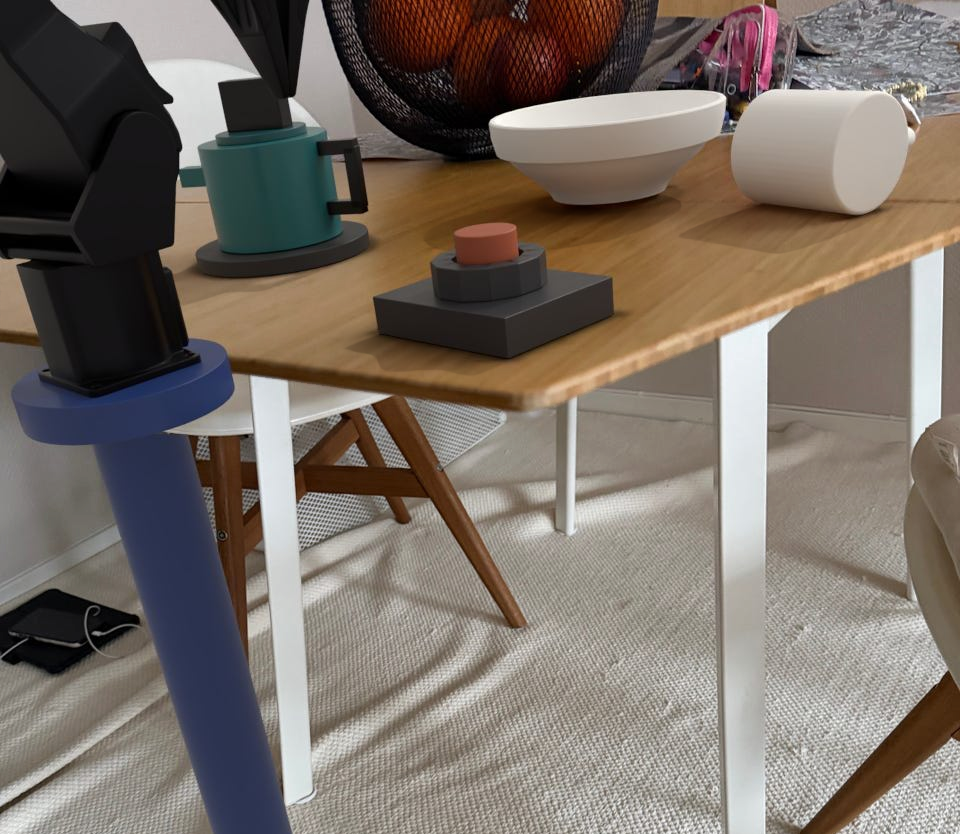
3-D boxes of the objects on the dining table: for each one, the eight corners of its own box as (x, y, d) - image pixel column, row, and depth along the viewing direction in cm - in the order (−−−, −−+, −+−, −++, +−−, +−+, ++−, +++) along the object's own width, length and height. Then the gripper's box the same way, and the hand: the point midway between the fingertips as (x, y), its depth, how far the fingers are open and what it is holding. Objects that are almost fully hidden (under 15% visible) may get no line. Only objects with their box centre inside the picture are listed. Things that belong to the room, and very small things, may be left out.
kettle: (164, 255, 87) (123, 95, 81) (231, 227, 95) (199, 78, 89) (341, 251, 81) (311, 77, 75) (397, 221, 89) (375, 61, 83)
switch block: (614, 314, 64) (611, 243, 62) (508, 359, 59) (501, 283, 57) (482, 295, 71) (476, 231, 69) (378, 333, 66) (367, 265, 64)
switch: (531, 256, 63) (529, 224, 62) (488, 271, 61) (484, 239, 60) (487, 251, 65) (484, 220, 64) (444, 265, 63) (440, 234, 62)
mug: (827, 225, 77) (834, 100, 73) (728, 211, 85) (729, 97, 80) (940, 193, 82) (953, 74, 78) (837, 182, 89) (844, 74, 85)
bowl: (701, 219, 83) (701, 116, 79) (464, 228, 90) (453, 134, 86) (742, 171, 98) (743, 83, 95) (536, 182, 105) (530, 100, 101)
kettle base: (263, 284, 80) (260, 268, 80) (166, 268, 89) (162, 253, 89) (405, 241, 88) (403, 225, 88) (302, 230, 97) (299, 215, 97)
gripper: (135, -303, 43) (226, 127, 51) (469, -284, 54) (500, 70, 62) (16, -243, 50) (112, 126, 59) (331, -237, 61) (375, 75, 69)
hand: (285, 98), depth 62 cm, fingers closed
